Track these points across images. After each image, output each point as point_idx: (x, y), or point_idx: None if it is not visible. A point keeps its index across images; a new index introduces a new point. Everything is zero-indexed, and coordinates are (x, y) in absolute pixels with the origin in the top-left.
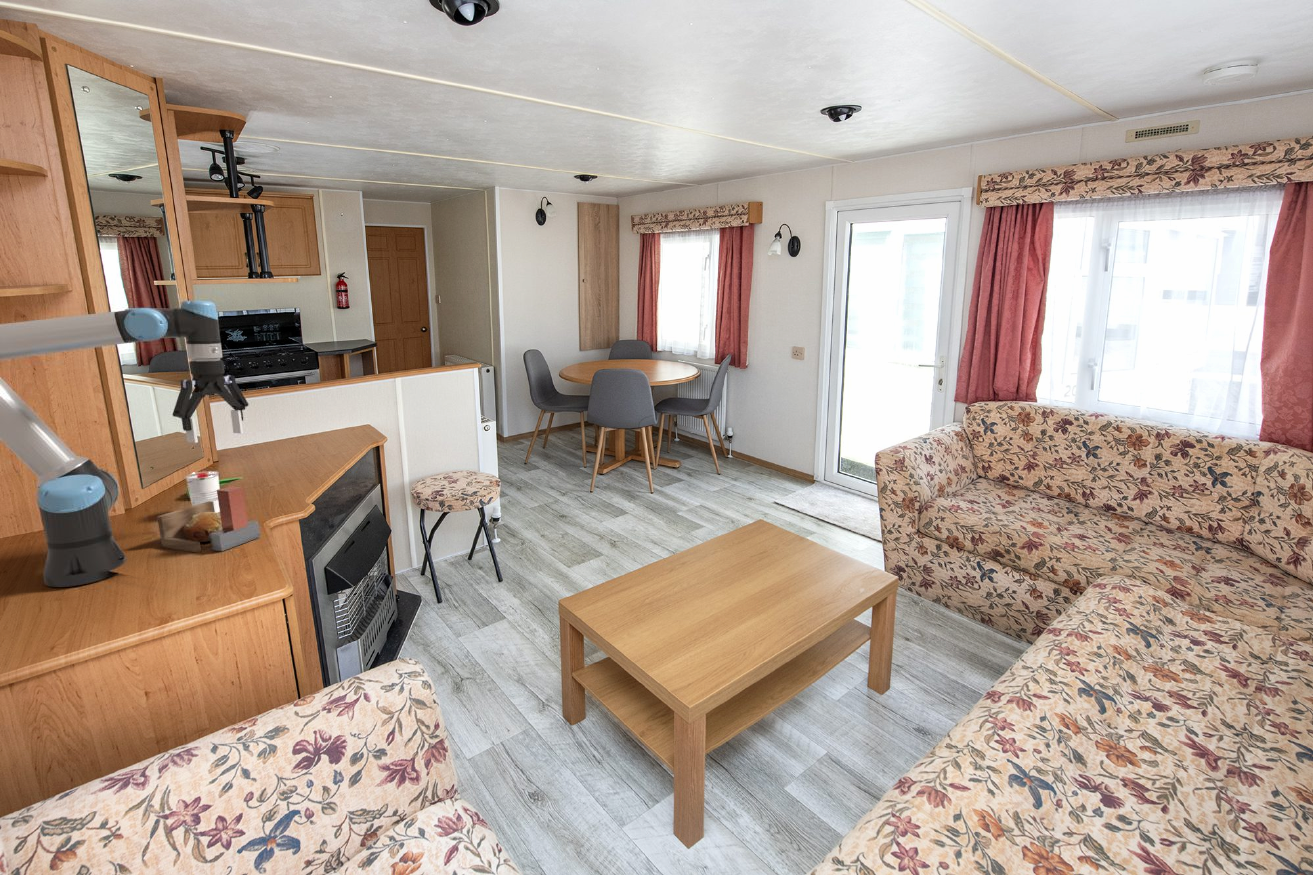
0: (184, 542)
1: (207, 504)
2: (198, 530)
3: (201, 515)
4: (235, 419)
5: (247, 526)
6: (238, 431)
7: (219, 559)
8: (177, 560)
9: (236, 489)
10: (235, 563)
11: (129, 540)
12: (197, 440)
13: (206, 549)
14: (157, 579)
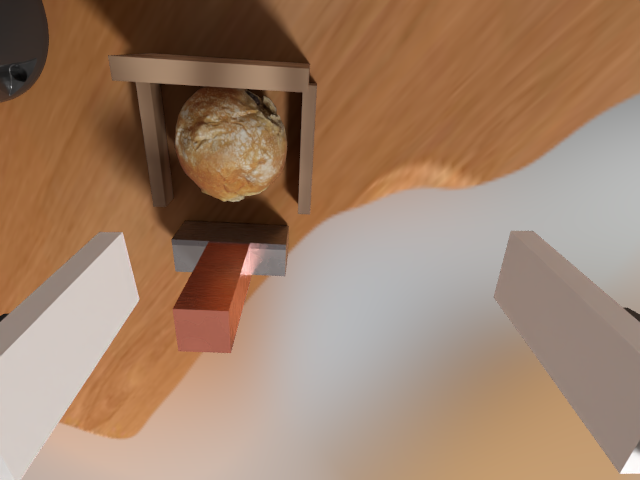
0: (149, 167)
1: (284, 90)
2: (186, 174)
3: (207, 162)
4: (570, 344)
5: (253, 273)
6: (505, 287)
7: (159, 277)
8: (111, 200)
9: (208, 351)
10: (160, 320)
11: None
12: (132, 308)
13: (185, 201)
14: (36, 255)
